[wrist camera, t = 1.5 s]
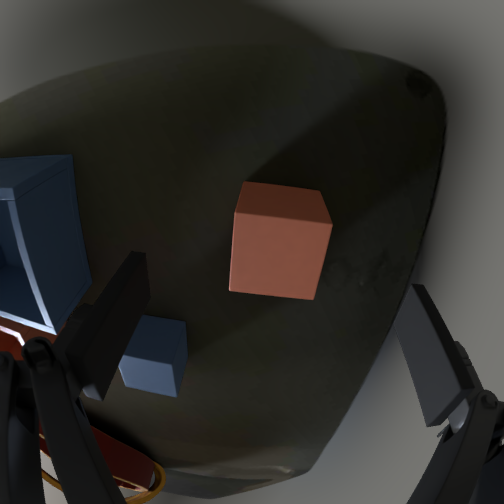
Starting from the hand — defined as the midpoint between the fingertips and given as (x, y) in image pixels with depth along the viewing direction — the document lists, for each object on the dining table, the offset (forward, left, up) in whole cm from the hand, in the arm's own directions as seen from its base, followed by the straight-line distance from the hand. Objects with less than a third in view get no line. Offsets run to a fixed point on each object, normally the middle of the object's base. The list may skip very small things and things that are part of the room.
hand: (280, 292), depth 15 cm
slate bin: (+2, -21, -8) cm, 23 cm away
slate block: (+13, -9, -8) cm, 17 cm away
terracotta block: (0, 0, -8) cm, 8 cm away
